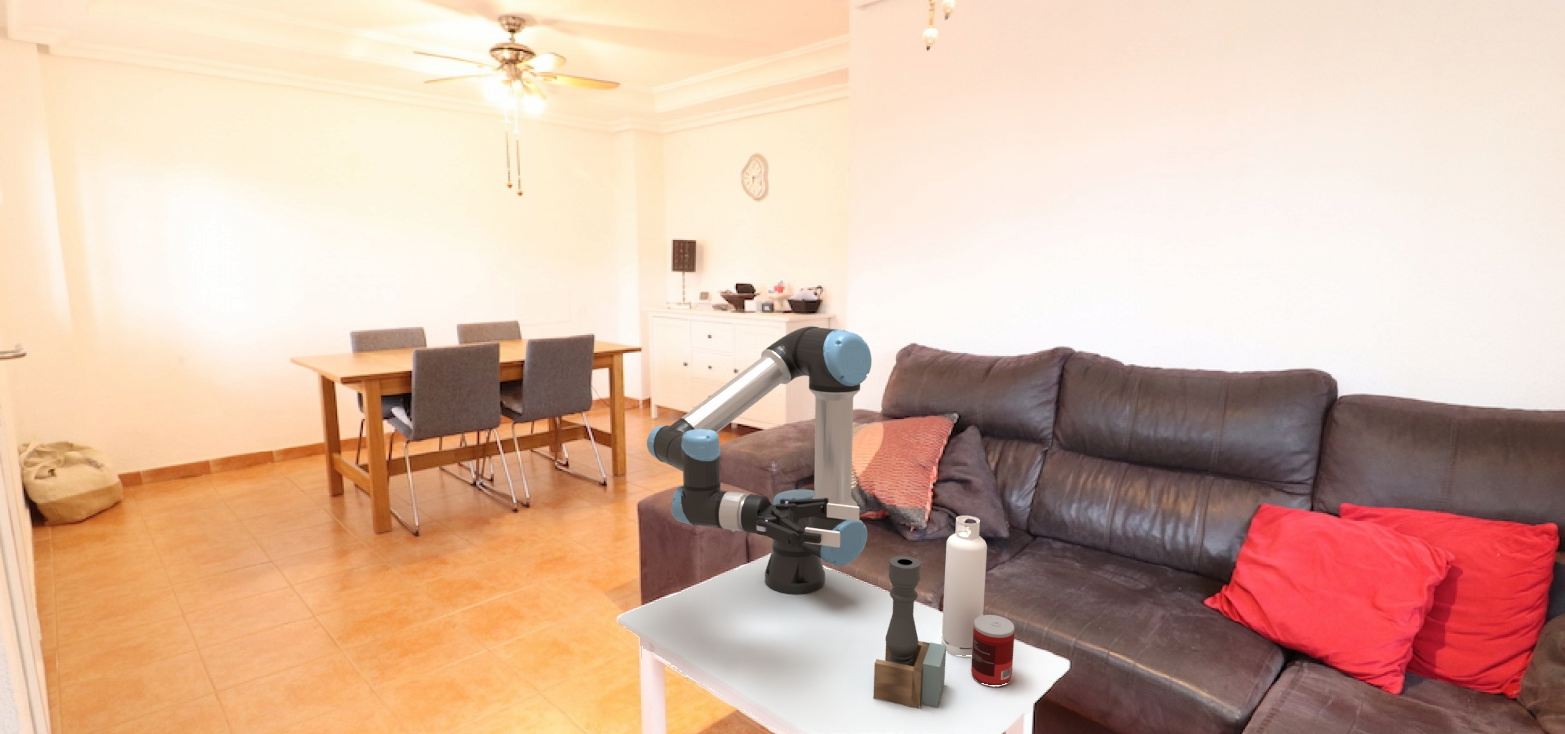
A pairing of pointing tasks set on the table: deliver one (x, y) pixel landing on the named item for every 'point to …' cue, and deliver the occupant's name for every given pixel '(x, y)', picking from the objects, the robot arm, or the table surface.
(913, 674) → the cradle
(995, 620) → the canned food
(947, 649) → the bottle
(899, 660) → the candle holder
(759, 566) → the table surface
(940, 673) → the block
